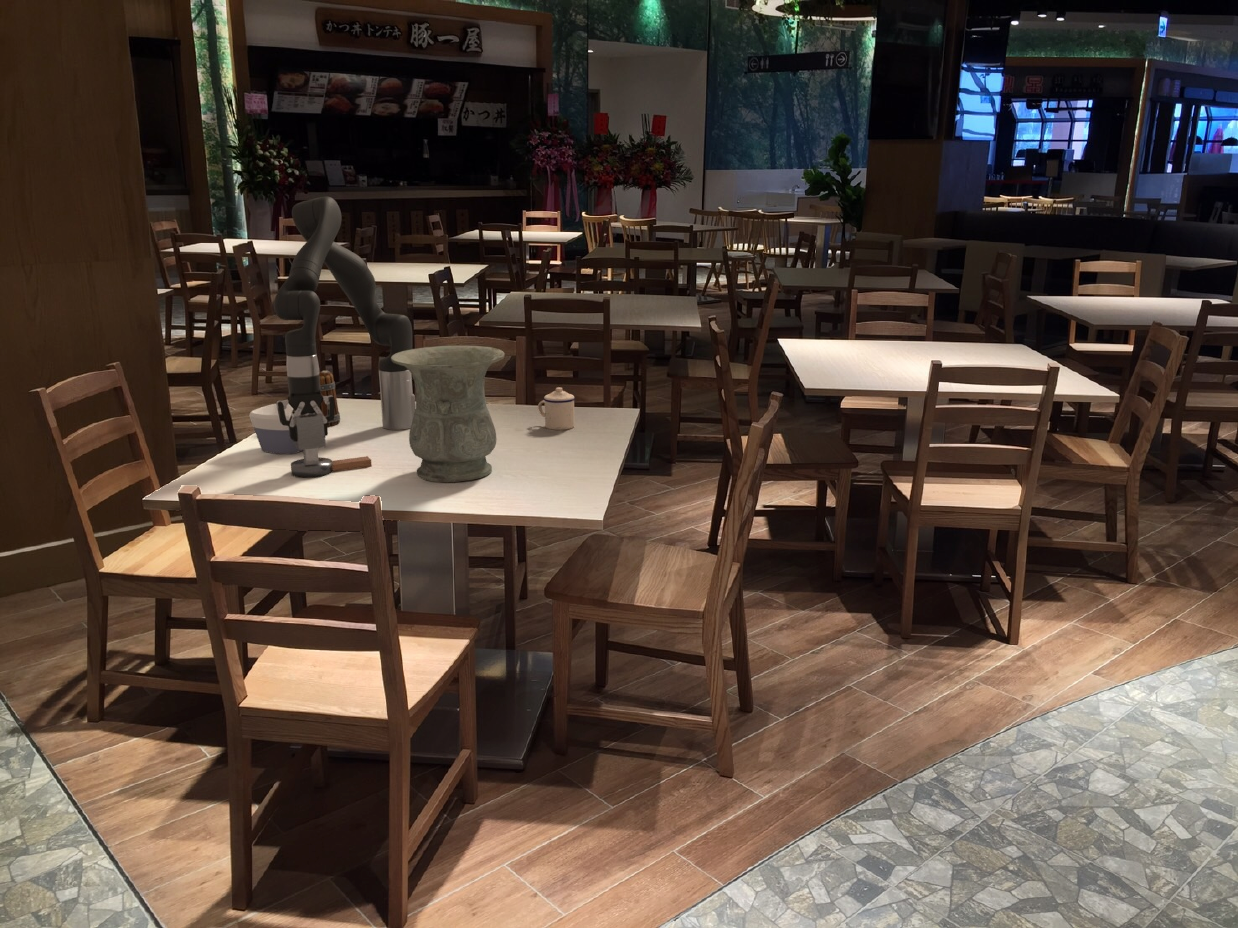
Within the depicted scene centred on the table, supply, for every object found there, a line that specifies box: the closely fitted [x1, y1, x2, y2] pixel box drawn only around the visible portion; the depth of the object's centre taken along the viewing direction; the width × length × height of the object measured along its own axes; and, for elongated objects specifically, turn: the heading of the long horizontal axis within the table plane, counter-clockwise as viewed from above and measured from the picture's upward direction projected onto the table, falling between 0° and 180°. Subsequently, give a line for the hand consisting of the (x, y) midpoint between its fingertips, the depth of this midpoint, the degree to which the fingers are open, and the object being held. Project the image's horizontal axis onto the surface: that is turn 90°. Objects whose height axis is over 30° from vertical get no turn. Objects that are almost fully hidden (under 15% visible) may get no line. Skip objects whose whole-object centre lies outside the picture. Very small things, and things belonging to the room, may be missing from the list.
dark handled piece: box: [290, 448, 372, 479], centre depth 258 cm, size 20×10×8 cm, turn 118°
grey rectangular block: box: [294, 413, 327, 450], centre depth 254 cm, size 6×6×8 cm
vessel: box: [391, 345, 505, 483], centre depth 252 cm, size 27×27×30 cm
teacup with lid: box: [537, 387, 576, 431], centre depth 302 cm, size 12×9×12 cm
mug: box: [319, 370, 341, 428], centre depth 308 cm, size 16×11×15 cm
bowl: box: [249, 403, 303, 455], centre depth 278 cm, size 15×15×11 cm
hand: (309, 439), depth 255 cm, fingers closed on grey rectangular block, 6 cm apart
